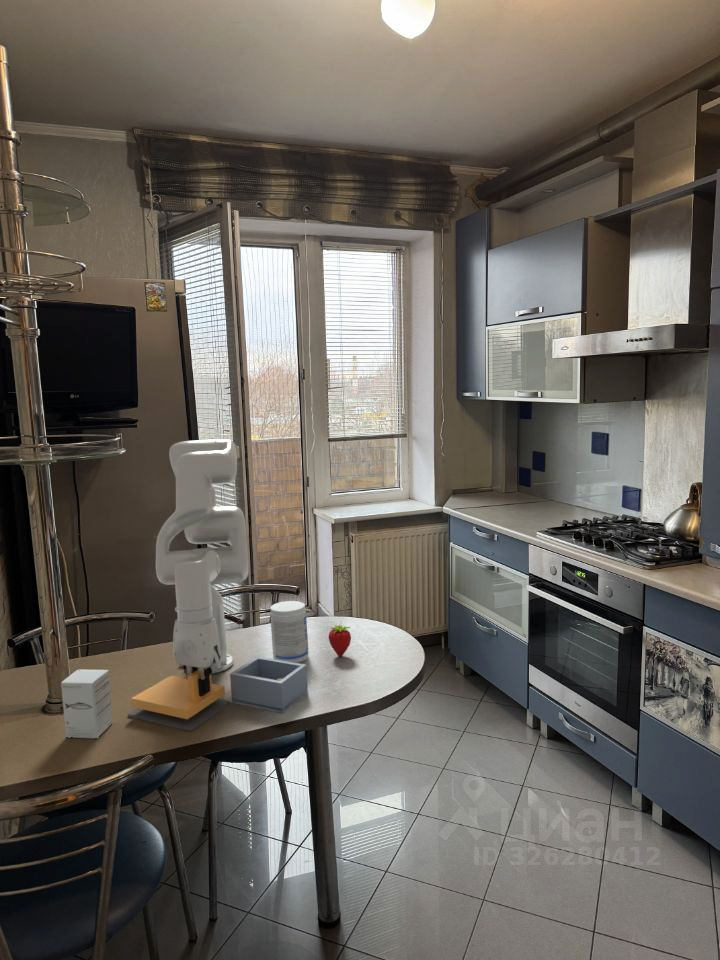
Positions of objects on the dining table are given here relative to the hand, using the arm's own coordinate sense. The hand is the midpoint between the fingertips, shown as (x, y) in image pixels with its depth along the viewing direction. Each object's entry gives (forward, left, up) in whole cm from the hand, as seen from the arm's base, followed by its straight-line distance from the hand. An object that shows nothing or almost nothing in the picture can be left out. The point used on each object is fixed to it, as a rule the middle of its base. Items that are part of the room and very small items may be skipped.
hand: (200, 692), depth 152 cm
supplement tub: (+1, +35, -6) cm, 36 cm away
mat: (-7, 0, -5) cm, 8 cm away
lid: (-7, 0, -2) cm, 7 cm away
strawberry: (+13, +41, -6) cm, 44 cm away
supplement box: (-19, -15, -6) cm, 24 cm away
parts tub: (+9, +13, -5) cm, 17 cm away
